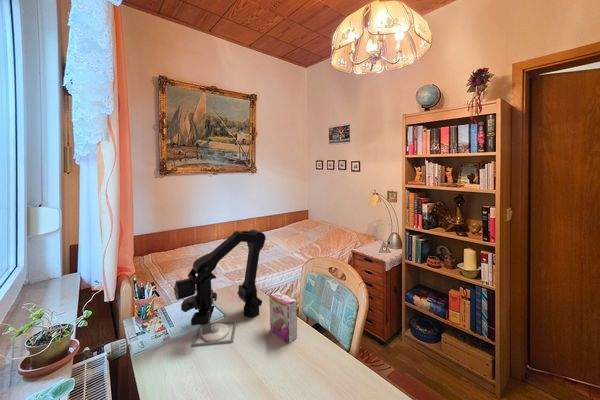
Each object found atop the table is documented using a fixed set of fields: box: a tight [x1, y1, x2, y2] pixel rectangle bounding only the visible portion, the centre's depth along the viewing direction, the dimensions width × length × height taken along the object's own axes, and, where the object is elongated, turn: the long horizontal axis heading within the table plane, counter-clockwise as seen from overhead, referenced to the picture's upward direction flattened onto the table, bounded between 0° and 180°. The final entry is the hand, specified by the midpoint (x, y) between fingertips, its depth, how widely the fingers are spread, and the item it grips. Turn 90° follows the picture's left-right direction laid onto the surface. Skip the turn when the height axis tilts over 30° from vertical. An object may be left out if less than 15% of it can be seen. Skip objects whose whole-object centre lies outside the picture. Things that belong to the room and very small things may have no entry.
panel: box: [191, 320, 237, 348], centre depth 107 cm, size 15×13×2 cm
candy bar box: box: [269, 290, 298, 344], centre depth 106 cm, size 11×5×16 cm, turn 47°
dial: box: [201, 321, 229, 342], centre depth 106 cm, size 10×10×5 cm
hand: (206, 326), depth 107 cm, fingers closed
